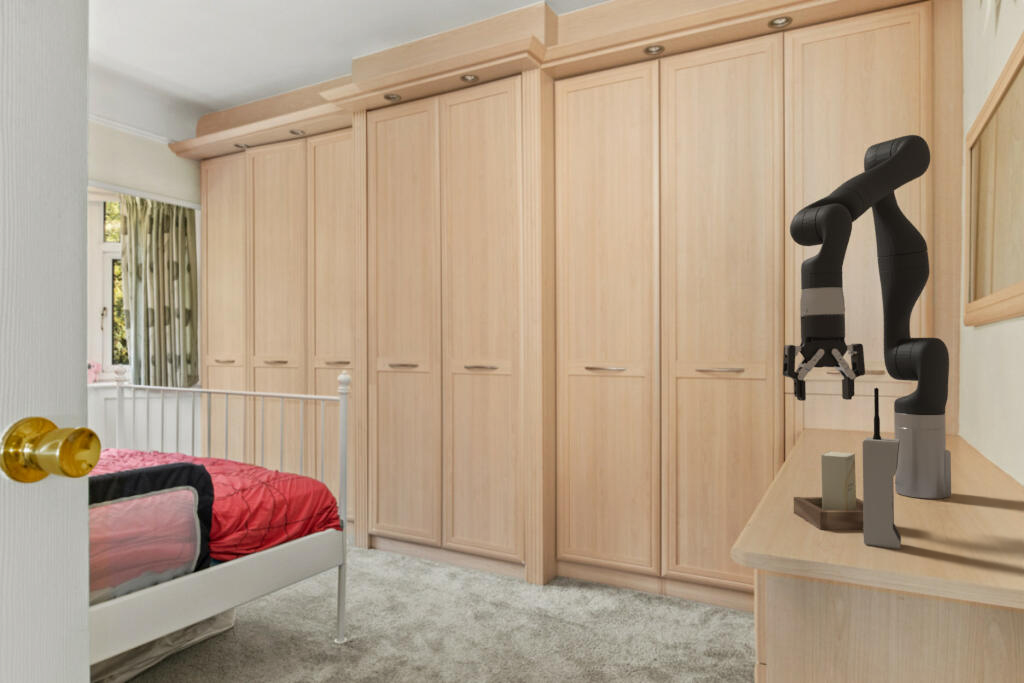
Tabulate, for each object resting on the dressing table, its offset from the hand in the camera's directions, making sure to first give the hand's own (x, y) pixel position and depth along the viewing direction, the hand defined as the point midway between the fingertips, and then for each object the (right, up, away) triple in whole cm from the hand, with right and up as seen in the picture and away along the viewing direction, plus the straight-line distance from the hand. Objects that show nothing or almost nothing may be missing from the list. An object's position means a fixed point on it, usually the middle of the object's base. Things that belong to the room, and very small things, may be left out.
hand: (824, 399), depth 122 cm
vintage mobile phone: (+1, -22, -18) cm, 28 cm away
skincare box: (+1, -22, -4) cm, 22 cm away
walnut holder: (+1, -22, -4) cm, 22 cm away
